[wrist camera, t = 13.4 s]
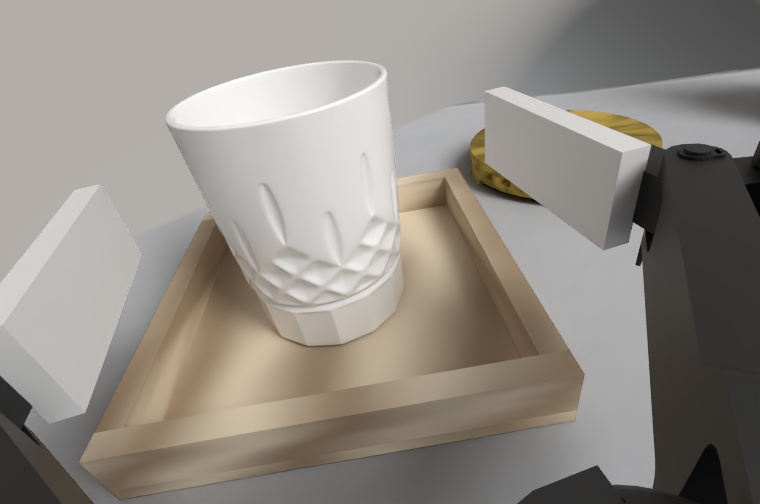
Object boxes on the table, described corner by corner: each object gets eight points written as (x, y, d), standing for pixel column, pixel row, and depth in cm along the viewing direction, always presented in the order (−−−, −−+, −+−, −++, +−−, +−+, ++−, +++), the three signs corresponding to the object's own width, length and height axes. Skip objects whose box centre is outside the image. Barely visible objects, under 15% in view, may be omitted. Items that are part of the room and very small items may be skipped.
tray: (119, 499, 14) (78, 462, 13) (220, 245, 28) (206, 212, 26) (574, 420, 14) (584, 374, 13) (459, 202, 27) (457, 167, 26)
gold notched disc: (686, 156, 29) (695, 125, 27) (595, 233, 23) (601, 198, 22) (532, 127, 37) (533, 103, 36) (438, 180, 31) (435, 152, 30)
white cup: (379, 234, 25) (346, 51, 19) (446, 315, 18) (426, 79, 13) (248, 280, 23) (167, 94, 17) (272, 388, 17) (158, 151, 11)
